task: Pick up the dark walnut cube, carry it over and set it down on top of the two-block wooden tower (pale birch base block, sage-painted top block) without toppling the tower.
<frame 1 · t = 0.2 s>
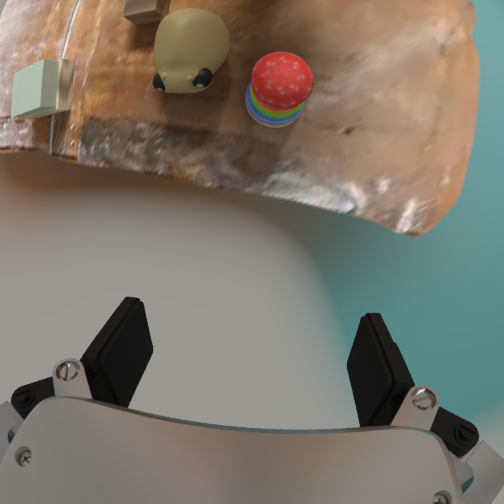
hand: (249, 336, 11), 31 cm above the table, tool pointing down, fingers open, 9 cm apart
top block: (41, 89, 30), point 4 cm above the table, touching base block
toy frog: (198, 60, 33), on the table
walnut cube: (154, 10, 29), on the table
base block: (55, 90, 34), on the table, touching top block
stacking toy: (274, 100, 35), on the table
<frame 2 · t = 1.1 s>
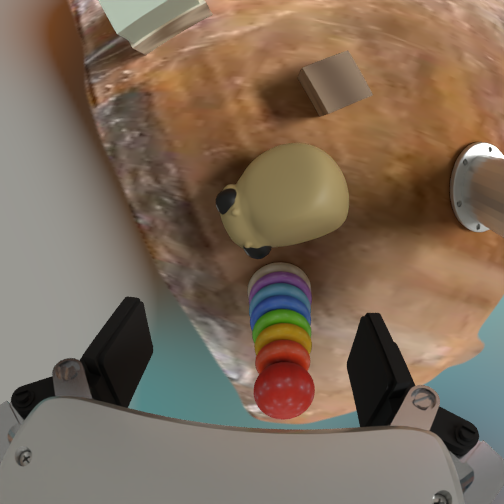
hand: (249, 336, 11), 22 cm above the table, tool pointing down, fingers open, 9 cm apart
top block: (151, 1, 19), point 4 cm above the table, touching base block
toy frog: (282, 189, 31), on the table
walnut cube: (328, 88, 26), on the table
base block: (163, 11, 23), on the table, touching top block
stacking toy: (279, 287, 36), on the table
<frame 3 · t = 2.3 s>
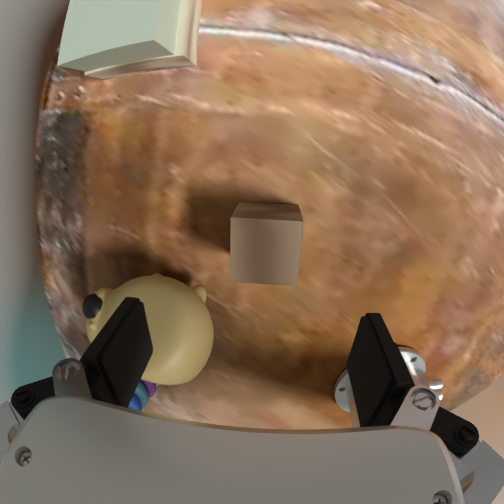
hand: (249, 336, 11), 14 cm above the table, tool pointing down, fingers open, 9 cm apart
top block: (132, 20, 15), point 4 cm above the table, touching base block
toy frog: (167, 298, 29), on the table
walnut cube: (267, 230, 25), on the table
base block: (153, 30, 18), on the table, touching top block
stacking toy: (136, 361, 33), on the table
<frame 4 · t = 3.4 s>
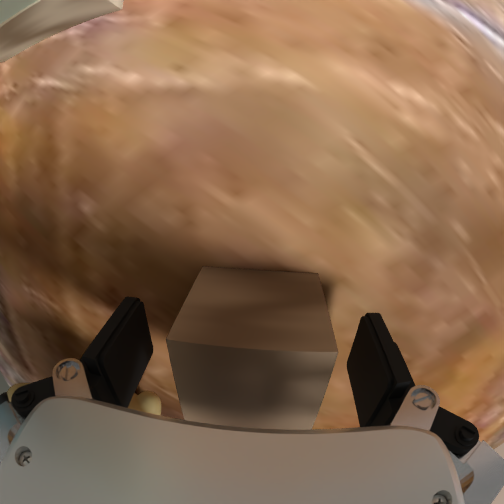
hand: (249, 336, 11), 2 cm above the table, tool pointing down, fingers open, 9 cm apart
toy frog: (114, 386, 17), on the table
walnut cube: (257, 316, 13), on the table
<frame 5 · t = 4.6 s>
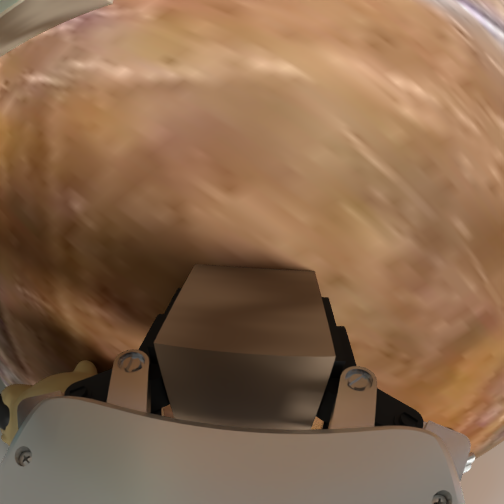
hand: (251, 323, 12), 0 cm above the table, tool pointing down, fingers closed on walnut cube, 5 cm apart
toy frog: (108, 386, 17), on the table
walnut cube: (252, 316, 13), on the table, touching gripper
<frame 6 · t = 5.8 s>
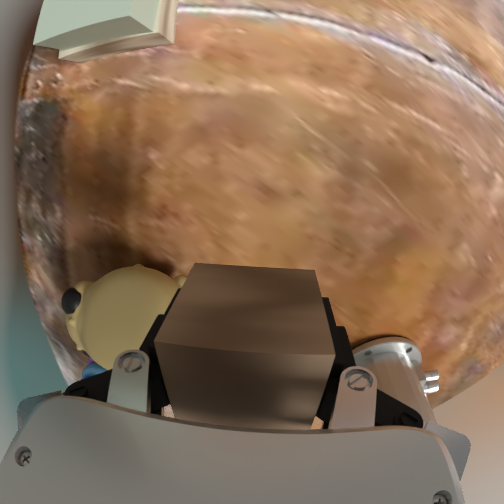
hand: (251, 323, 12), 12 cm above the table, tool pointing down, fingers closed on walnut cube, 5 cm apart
toy frog: (149, 289, 27), on the table
walnut cube: (252, 315, 13), point 12 cm above the table, touching gripper
base block: (130, 10, 16), on the table, touching top block
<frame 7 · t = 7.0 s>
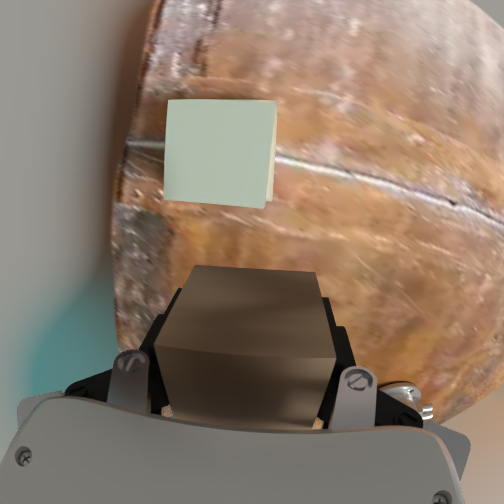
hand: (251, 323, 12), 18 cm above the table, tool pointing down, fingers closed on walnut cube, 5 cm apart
top block: (224, 149, 24), point 4 cm above the table, touching base block
walnut cube: (252, 317, 13), point 18 cm above the table, touching gripper
base block: (230, 147, 27), on the table, touching top block
when the fingers open (10 cm above the table, at t = 9.7 s): walnut cube drops 1 cm, point 8 cm above the table.
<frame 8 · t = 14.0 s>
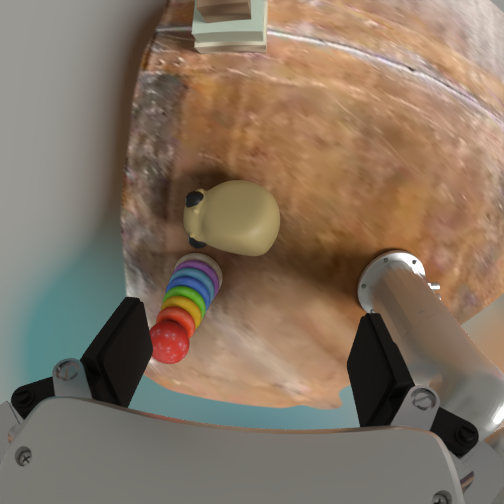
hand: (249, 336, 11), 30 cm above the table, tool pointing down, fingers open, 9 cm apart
top block: (232, 16, 26), point 4 cm above the table, touching base block
toy frog: (237, 207, 41), on the table
walnut cube: (228, 4, 23), point 8 cm above the table
base block: (234, 26, 30), on the table, touching top block
stacking toy: (199, 272, 46), on the table
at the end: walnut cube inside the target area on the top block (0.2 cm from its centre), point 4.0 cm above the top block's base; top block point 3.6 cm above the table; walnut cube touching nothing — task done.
